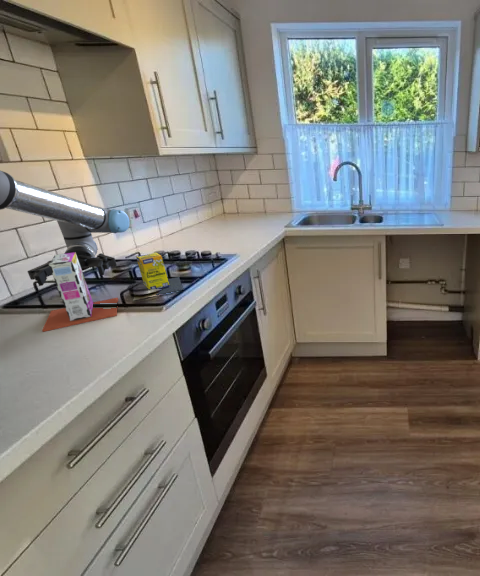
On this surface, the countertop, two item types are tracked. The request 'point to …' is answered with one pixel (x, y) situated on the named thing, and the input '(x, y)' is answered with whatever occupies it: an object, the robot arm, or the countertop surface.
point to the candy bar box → (72, 285)
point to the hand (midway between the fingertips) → (70, 275)
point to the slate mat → (172, 286)
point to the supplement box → (153, 271)
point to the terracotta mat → (61, 319)
